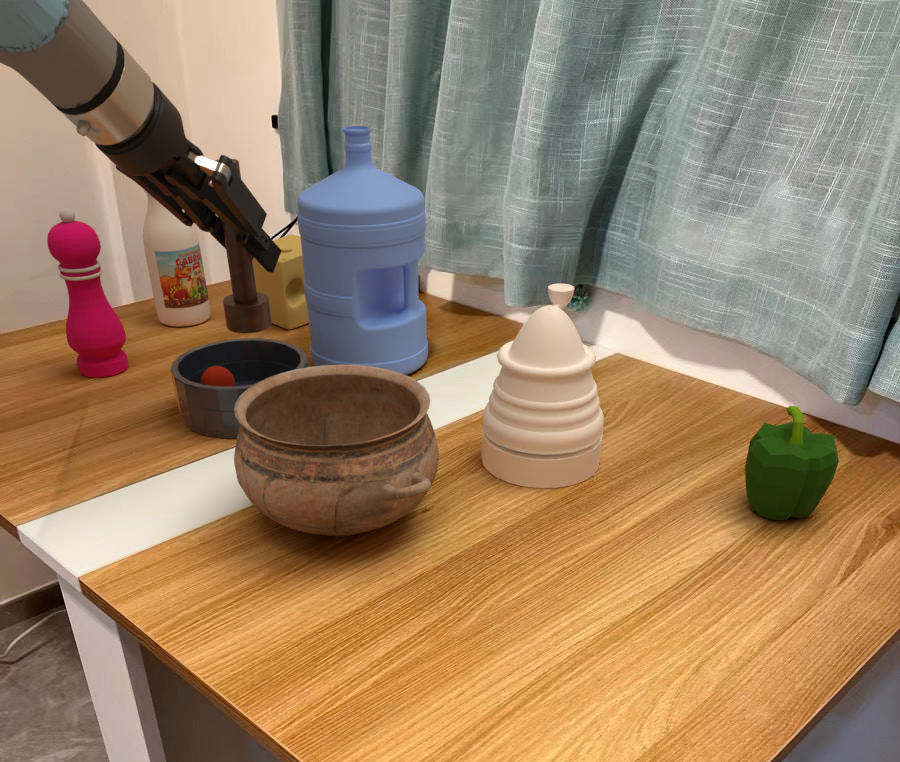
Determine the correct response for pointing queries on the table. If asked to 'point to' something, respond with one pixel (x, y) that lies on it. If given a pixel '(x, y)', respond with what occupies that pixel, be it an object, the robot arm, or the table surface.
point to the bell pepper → (789, 468)
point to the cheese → (285, 284)
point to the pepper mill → (87, 299)
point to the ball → (217, 377)
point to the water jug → (363, 264)
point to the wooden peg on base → (243, 287)
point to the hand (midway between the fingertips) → (262, 258)
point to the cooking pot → (335, 448)
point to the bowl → (215, 405)
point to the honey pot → (544, 404)
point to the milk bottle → (174, 268)
